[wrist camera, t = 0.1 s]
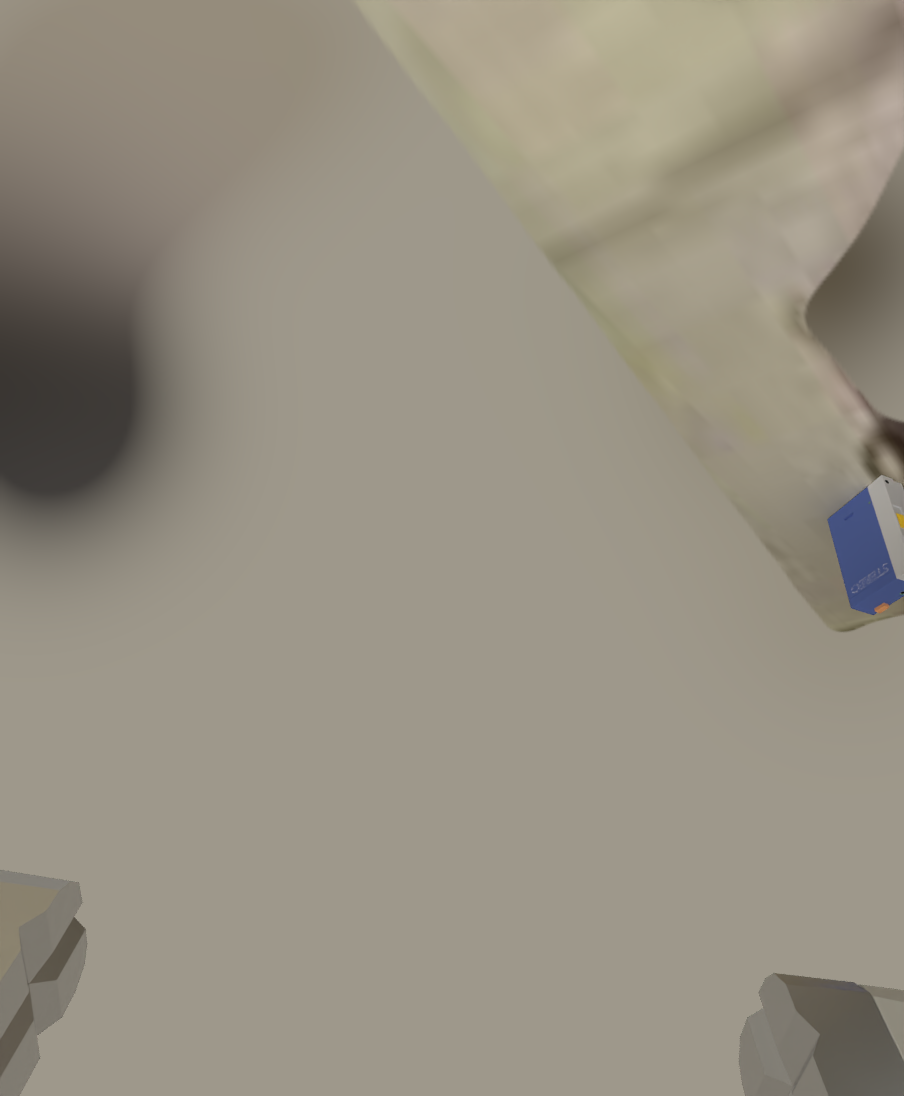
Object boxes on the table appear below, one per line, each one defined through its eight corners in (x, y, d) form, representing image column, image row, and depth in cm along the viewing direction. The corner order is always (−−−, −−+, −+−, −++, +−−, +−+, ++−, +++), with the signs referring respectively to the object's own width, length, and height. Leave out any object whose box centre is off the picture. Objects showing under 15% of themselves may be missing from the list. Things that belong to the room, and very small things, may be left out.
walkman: (848, 526, 82) (874, 618, 75) (826, 519, 81) (851, 611, 74) (904, 482, 76) (939, 578, 68) (882, 474, 75) (915, 570, 68)
